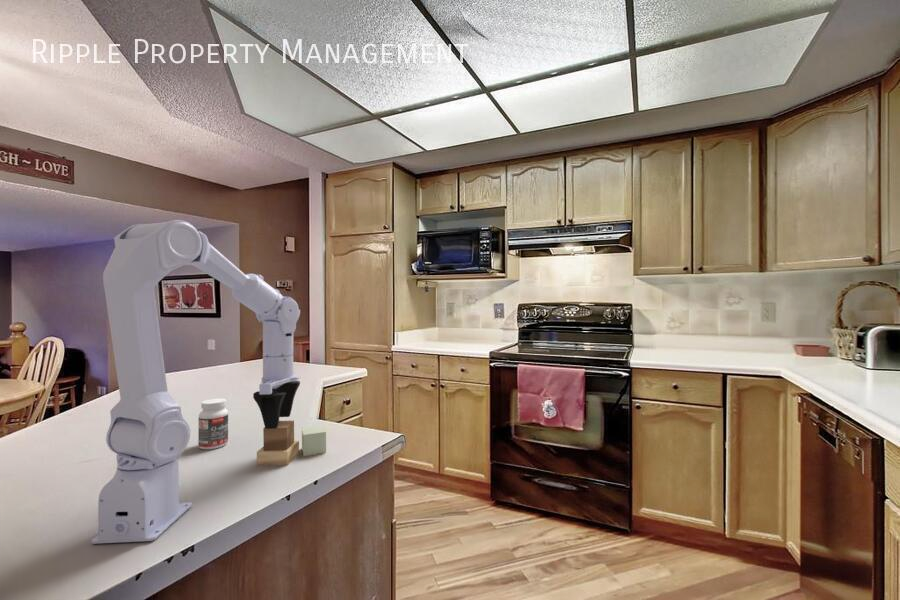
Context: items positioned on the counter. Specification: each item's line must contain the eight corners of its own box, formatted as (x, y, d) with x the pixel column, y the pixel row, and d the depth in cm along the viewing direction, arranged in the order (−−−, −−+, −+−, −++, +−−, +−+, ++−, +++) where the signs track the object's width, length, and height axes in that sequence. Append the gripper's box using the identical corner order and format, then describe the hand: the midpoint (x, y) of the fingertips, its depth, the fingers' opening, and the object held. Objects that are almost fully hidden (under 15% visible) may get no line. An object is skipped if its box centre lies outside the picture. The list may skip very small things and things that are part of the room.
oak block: (287, 466, 78) (287, 451, 78) (256, 467, 78) (256, 451, 78) (298, 455, 84) (298, 440, 84) (270, 455, 84) (270, 441, 84)
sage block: (326, 453, 85) (326, 431, 85) (303, 456, 83) (303, 434, 83) (323, 446, 89) (323, 425, 89) (301, 449, 87) (301, 428, 87)
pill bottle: (214, 451, 86) (214, 404, 86) (192, 449, 87) (191, 403, 87) (234, 441, 91) (234, 398, 91) (212, 440, 92) (212, 397, 92)
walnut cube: (287, 450, 79) (286, 427, 79) (263, 450, 79) (263, 428, 79) (294, 441, 84) (294, 420, 84) (272, 442, 83) (271, 421, 83)
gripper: (287, 360, 74) (286, 433, 74) (308, 350, 89) (308, 411, 89) (247, 360, 74) (247, 434, 74) (275, 350, 88) (275, 412, 88)
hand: (278, 422), depth 81 cm, fingers open, 7 cm apart
